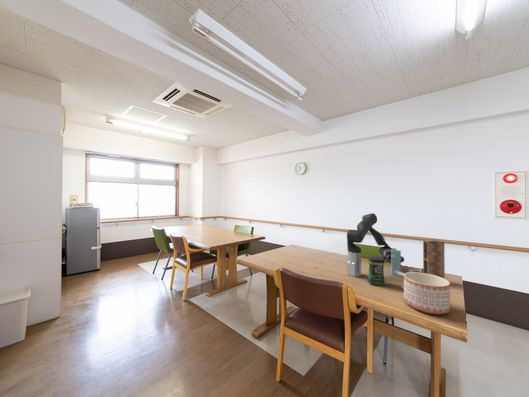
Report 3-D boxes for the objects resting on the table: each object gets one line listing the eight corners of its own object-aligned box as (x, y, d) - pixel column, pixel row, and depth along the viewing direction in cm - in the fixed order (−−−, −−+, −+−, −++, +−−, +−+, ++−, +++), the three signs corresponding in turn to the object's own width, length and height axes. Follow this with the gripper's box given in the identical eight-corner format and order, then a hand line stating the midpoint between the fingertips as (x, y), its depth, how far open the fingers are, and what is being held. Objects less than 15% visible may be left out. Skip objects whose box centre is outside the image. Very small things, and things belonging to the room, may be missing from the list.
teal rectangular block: (392, 275, 155) (392, 250, 155) (391, 273, 158) (391, 249, 158) (401, 276, 153) (401, 251, 153) (399, 274, 157) (399, 250, 157)
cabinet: (409, 281, 143) (409, 240, 143) (401, 272, 161) (401, 235, 160) (447, 285, 136) (447, 242, 136) (434, 275, 154) (434, 237, 154)
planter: (446, 321, 97) (446, 289, 97) (399, 306, 111) (398, 278, 111) (452, 307, 110) (452, 279, 110) (409, 294, 124) (409, 269, 124)
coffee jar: (370, 285, 137) (370, 257, 137) (366, 281, 145) (366, 254, 145) (386, 286, 136) (386, 257, 135) (381, 281, 143) (381, 254, 143)
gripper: (380, 249, 175) (384, 254, 160) (399, 251, 171) (406, 256, 155) (380, 258, 175) (384, 264, 160) (399, 260, 171) (406, 266, 155)
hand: (395, 260), depth 158 cm, fingers open, 8 cm apart
